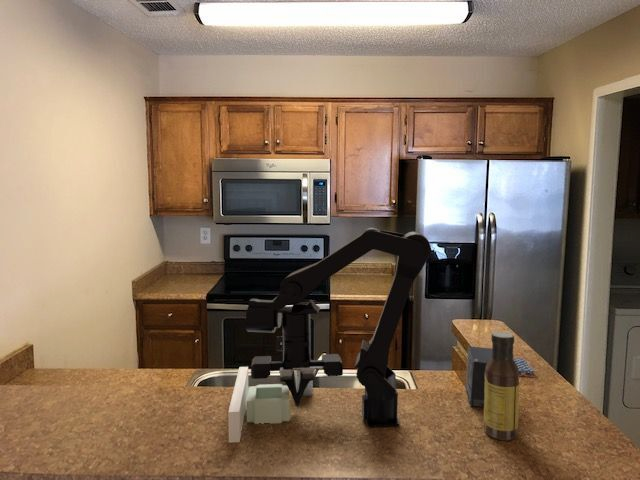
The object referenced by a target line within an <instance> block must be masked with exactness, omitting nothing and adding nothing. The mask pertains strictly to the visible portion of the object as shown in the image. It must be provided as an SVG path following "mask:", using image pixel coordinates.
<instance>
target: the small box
mask: <svg viewBox="0 0 640 480" xmlns="http://www.w3.org/2000/svg"><path fill="white" fill-rule="evenodd" d="M491 357H492V347H490V348H489V347H481V346H470V345H469V346H468V345H467V363H466V379H465V392H466V395H467V400H468V404H469V407H470V408H479V409H484V386H485V369H486V364H487V363H488V362H489V360H490V359H491Z"/></svg>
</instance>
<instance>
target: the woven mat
mask: <svg viewBox="0 0 640 480" xmlns="http://www.w3.org/2000/svg"><path fill="white" fill-rule="evenodd" d="M513 360H514V362H515V363H516V365H517V367H518V369H519V377H531V378H536V377H537V376H536V370H534V368H533V367H531V365H530V364H529V363H528V362H527V361H526V359H525V358H521V357H518V358H517V357H514V356H513Z"/></svg>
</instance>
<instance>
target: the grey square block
mask: <svg viewBox="0 0 640 480" xmlns="http://www.w3.org/2000/svg"><path fill="white" fill-rule="evenodd" d="M299 371H300V370H296V389H297V390H298V382H299ZM313 381H314V380H313ZM313 381H310V382H309V383H308V385H307V387H306V389H305V391H304V393H303V396H313V395H314V393H313V391H314V390H313V388H314V387H313V385H314V382H313ZM303 396H302V397H303Z"/></svg>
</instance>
